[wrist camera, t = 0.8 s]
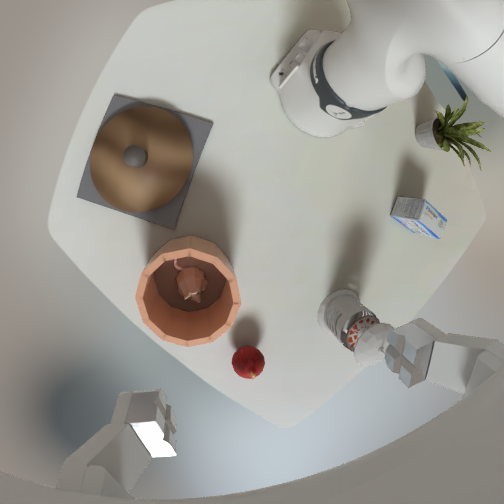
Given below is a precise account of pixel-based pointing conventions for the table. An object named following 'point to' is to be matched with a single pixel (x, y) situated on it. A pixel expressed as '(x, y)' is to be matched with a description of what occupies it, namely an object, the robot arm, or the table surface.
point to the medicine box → (419, 216)
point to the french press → (354, 326)
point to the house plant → (449, 133)
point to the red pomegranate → (248, 362)
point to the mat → (171, 210)
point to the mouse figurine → (190, 282)
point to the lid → (141, 159)
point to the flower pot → (179, 321)
